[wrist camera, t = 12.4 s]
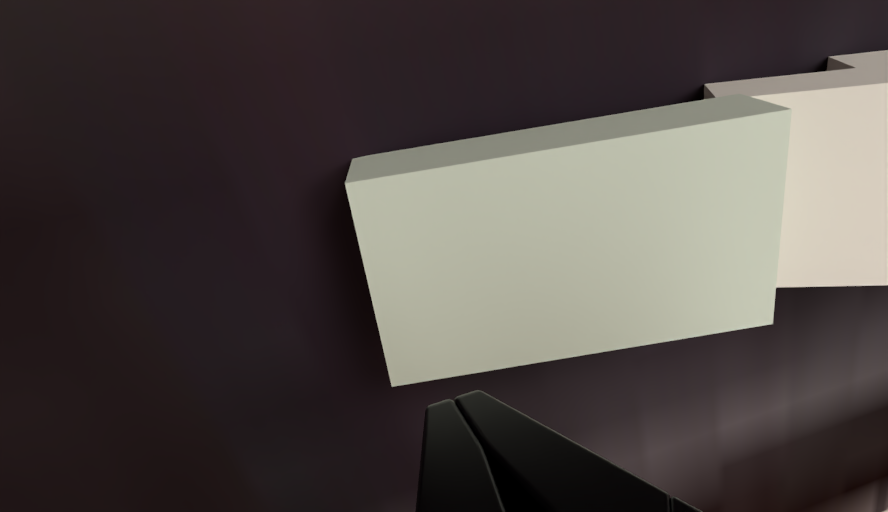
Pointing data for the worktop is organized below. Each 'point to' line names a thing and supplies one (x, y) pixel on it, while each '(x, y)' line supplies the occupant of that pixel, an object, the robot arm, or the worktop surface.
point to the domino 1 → (573, 236)
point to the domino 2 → (830, 174)
